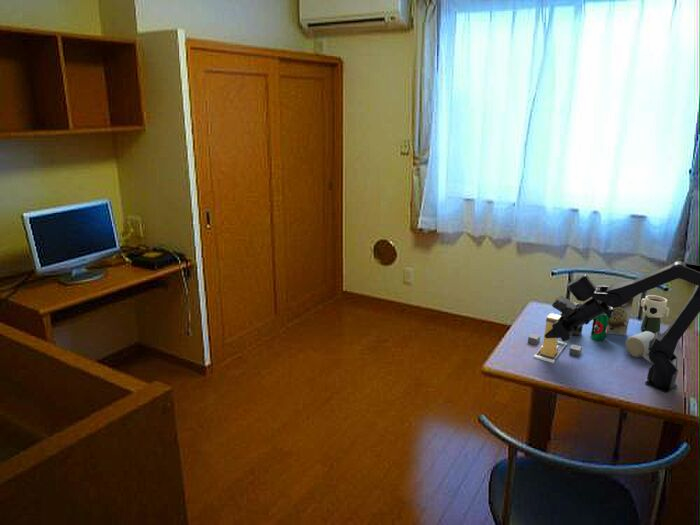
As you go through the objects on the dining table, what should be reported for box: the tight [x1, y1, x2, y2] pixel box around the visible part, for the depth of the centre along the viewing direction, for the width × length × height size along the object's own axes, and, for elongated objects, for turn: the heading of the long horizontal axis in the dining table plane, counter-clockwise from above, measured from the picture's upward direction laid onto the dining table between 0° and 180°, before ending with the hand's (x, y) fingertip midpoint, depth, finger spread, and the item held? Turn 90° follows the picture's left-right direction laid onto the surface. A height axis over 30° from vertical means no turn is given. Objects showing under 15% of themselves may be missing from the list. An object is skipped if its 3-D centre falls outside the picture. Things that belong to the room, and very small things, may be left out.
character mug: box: [640, 294, 670, 334], centre depth 197 cm, size 11×7×13 cm, turn 25°
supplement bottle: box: [571, 301, 584, 337], centre depth 192 cm, size 7×7×12 cm
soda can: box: [590, 313, 610, 342], centre depth 188 cm, size 5×5×12 cm
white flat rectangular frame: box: [527, 333, 583, 364], centre depth 180 cm, size 20×16×3 cm
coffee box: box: [607, 298, 634, 336], centre depth 196 cm, size 9×6×16 cm
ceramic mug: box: [625, 330, 656, 364], centre depth 178 cm, size 11×8×8 cm
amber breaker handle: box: [539, 312, 561, 358], centre depth 176 cm, size 4×4×13 cm
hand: (547, 334), depth 177 cm, fingers closed on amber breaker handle, 4 cm apart
